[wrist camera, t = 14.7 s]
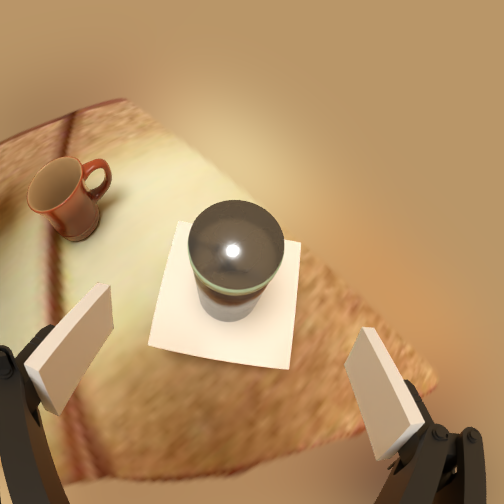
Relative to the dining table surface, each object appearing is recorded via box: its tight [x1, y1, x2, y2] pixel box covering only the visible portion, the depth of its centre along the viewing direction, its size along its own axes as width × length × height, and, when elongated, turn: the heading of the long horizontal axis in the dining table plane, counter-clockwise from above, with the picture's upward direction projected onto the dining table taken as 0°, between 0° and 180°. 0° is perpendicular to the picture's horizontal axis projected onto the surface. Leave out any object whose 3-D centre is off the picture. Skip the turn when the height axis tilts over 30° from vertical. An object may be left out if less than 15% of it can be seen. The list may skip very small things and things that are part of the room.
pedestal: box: [148, 221, 301, 370], centre depth 32 cm, size 14×14×7 cm
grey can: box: [187, 200, 285, 322], centre depth 23 cm, size 6×6×12 cm
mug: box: [27, 157, 112, 241], centre depth 33 cm, size 12×9×10 cm
